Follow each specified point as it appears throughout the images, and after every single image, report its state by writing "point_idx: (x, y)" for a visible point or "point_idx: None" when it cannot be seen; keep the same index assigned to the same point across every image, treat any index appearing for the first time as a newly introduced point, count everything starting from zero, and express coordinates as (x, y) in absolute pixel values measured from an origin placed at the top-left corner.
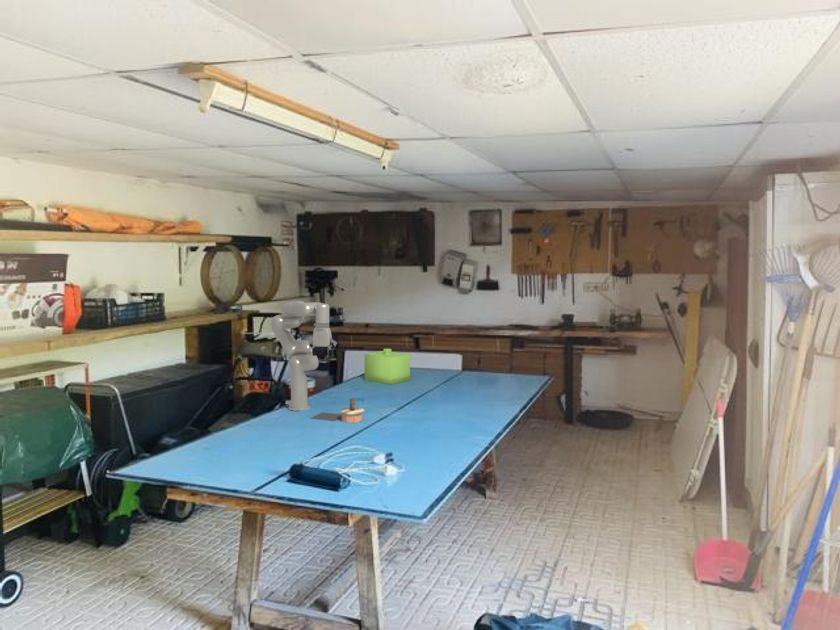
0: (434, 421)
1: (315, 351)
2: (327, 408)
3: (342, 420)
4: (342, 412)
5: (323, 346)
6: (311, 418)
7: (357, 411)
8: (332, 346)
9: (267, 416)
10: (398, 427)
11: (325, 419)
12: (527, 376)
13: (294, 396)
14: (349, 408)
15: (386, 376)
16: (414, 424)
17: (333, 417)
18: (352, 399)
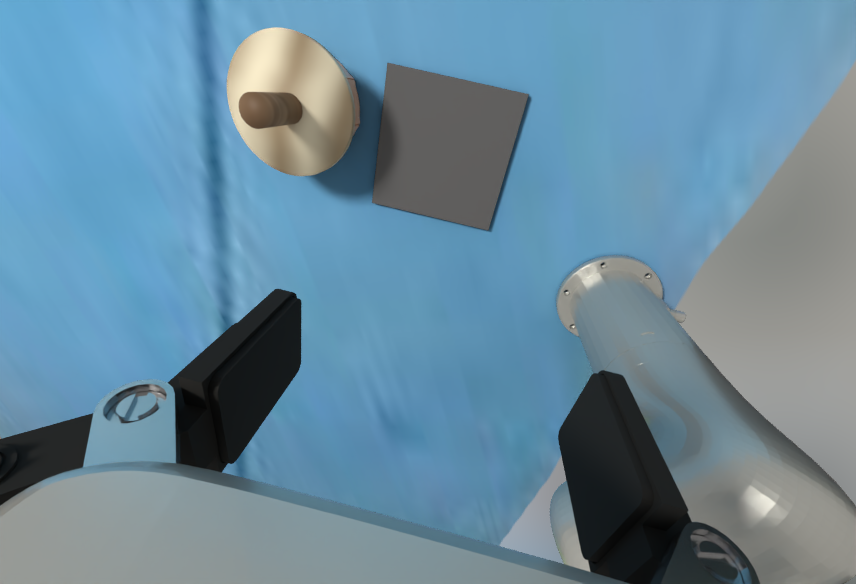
0: (23, 159)
1: (589, 479)
2: (481, 310)
3: (349, 74)
4: (324, 49)
5: (278, 489)
6: (519, 96)
7: (250, 77)
8: (7, 476)
9: (785, 126)
10: (75, 16)
11: (441, 88)
12: None
13: (654, 301)
14: (316, 145)
15: None
16: (53, 93)
17: (412, 140)
18: (251, 106)
